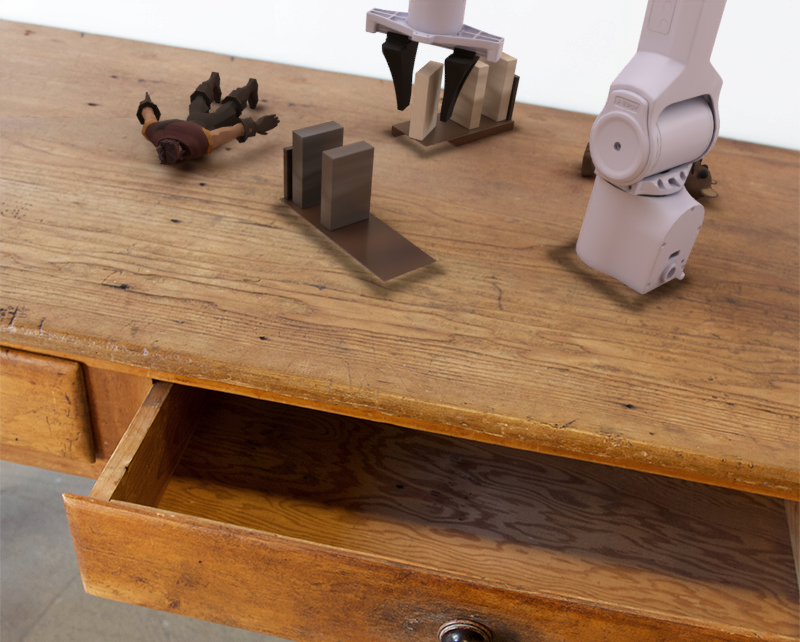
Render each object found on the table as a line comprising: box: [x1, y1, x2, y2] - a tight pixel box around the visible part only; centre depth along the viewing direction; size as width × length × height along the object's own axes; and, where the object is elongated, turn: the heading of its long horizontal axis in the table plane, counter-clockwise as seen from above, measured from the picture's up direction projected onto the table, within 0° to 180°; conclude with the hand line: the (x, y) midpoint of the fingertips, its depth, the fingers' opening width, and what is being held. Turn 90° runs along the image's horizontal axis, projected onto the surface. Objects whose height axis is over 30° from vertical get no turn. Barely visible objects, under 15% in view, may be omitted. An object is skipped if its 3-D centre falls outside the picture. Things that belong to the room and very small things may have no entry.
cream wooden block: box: [408, 60, 444, 141], centre depth 83 cm, size 2×4×7 cm, turn 158°
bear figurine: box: [580, 141, 719, 199], centre depth 82 cm, size 18×4×14 cm
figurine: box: [135, 71, 281, 166], centre depth 80 cm, size 15×4×20 cm
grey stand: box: [278, 120, 437, 283], centre depth 68 cm, size 16×6×8 cm, turn 40°
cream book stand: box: [390, 51, 521, 148], centre depth 86 cm, size 6×14×8 cm, turn 130°
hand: (424, 113), depth 84 cm, fingers open, 4 cm apart
